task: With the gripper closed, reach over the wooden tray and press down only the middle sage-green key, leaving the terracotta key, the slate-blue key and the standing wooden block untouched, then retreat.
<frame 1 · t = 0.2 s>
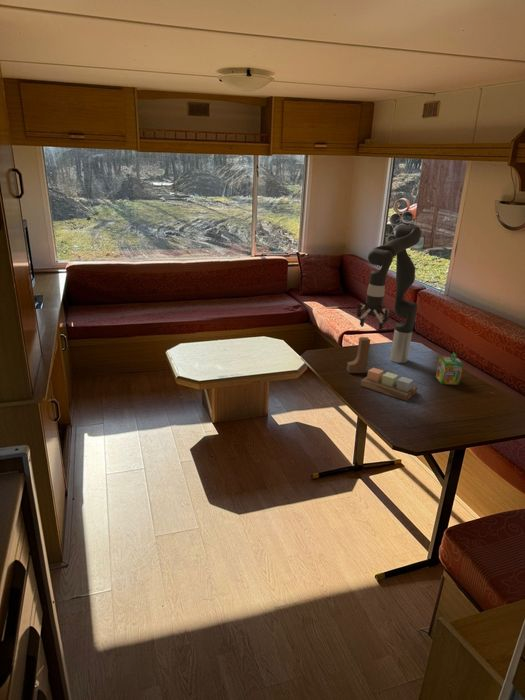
hand: (371, 328, 230), 28 cm above the table, fingers open, 8 cm apart
slate key: (404, 384, 230), point 5 cm above the table, slide at 0.0 cm
chalk box: (447, 381, 249), on the table
terracotta key: (375, 375, 238), point 5 cm above the table, slide at 0.0 cm
wooden block: (356, 372, 254), on the table
wooden tray: (388, 389, 236), on the table
sage key: (389, 380, 234), point 5 cm above the table, slide at 0.0 cm
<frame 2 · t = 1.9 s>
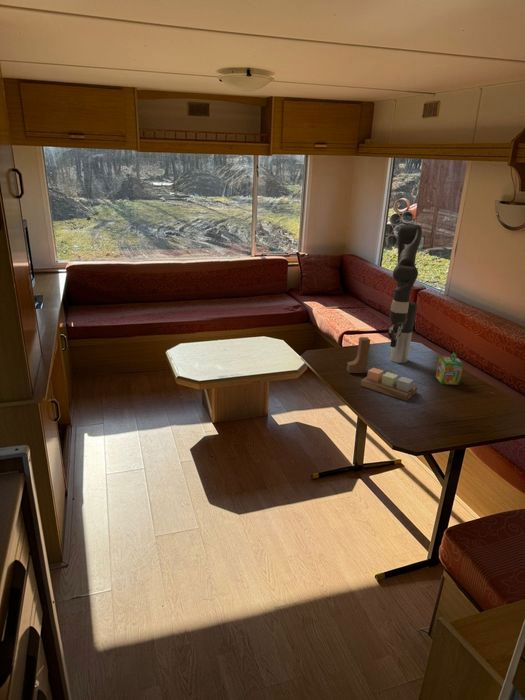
hand: (392, 346, 229), 21 cm above the table, fingers closed
nothing on the table moved.
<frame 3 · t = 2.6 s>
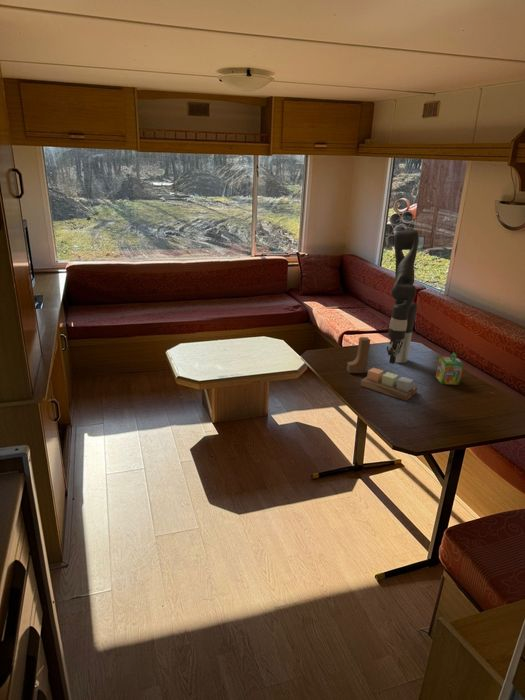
hand: (392, 363, 231), 13 cm above the table, fingers closed
nothing on the table moved.
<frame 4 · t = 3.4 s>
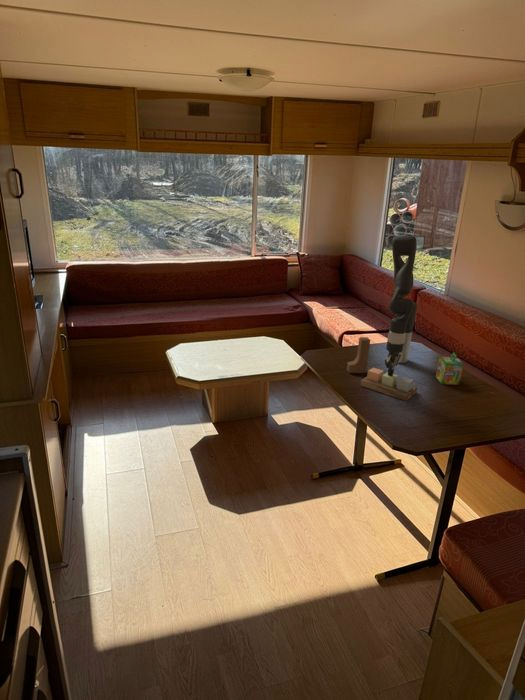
hand: (390, 375, 233), 7 cm above the table, fingers closed
sage key: (389, 380, 234), point 5 cm above the table, slide at 0.1 cm, touching gripper
everything else where it was.
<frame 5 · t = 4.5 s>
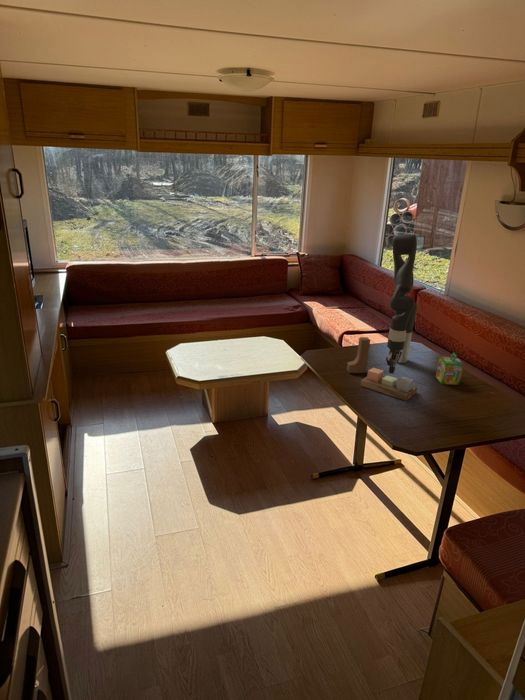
hand: (391, 372, 233), 8 cm above the table, fingers closed
sage key: (389, 383, 235), point 3 cm above the table, slide at 1.7 cm
everything else where it was.
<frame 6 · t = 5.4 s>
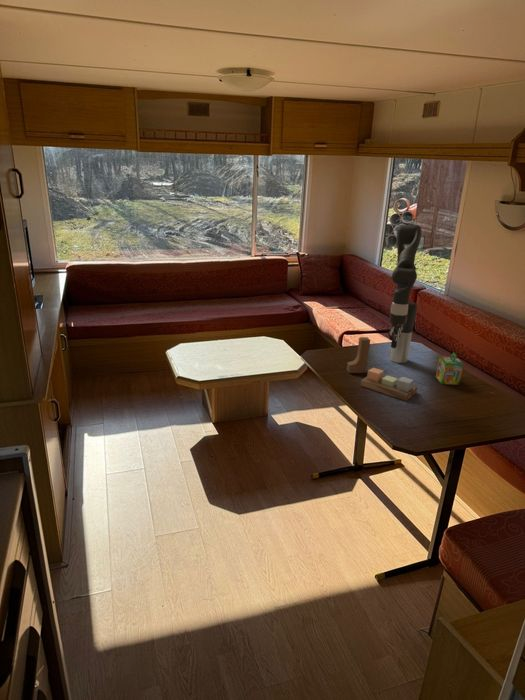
hand: (393, 347, 232), 20 cm above the table, fingers closed
nothing on the table moved.
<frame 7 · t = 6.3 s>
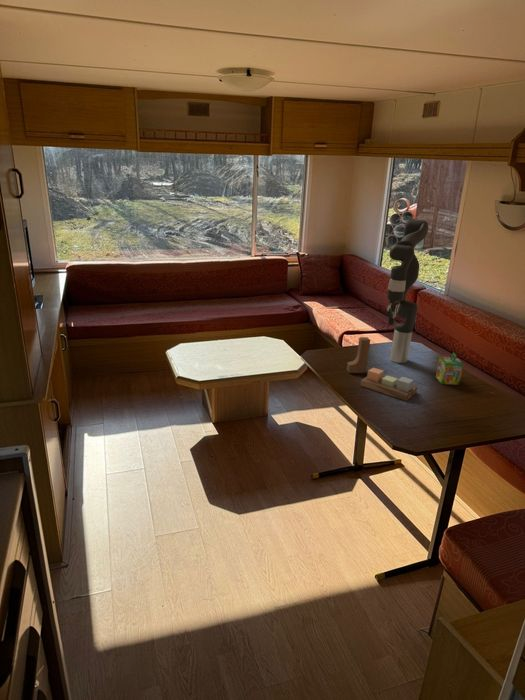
hand: (390, 324, 235), 29 cm above the table, fingers closed
nothing on the table moved.
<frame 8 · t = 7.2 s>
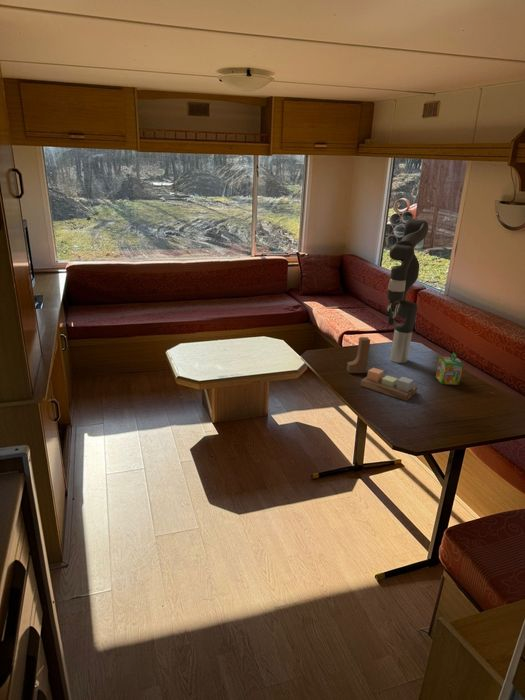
hand: (390, 324, 235), 29 cm above the table, fingers closed
nothing on the table moved.
at the end: sage key slide at 1.7 cm; terracotta key slide at 0.0 cm; slate key slide at 0.0 cm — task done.
